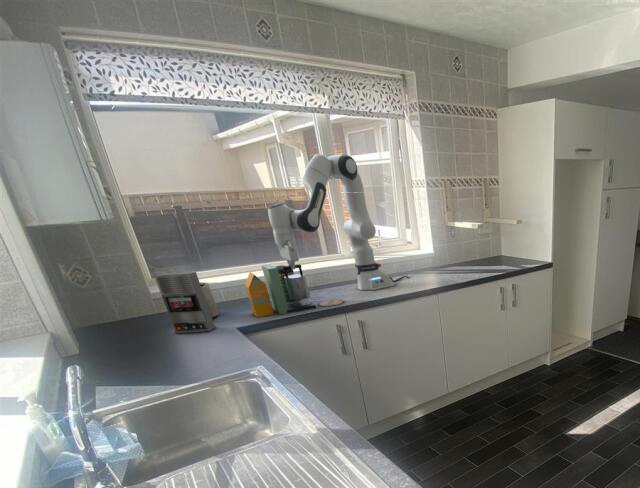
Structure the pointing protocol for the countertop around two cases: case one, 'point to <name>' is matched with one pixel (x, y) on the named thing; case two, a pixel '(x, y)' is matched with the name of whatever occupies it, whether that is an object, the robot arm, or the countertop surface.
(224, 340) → the countertop surface
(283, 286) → the coffee jar
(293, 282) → the grey box with handle
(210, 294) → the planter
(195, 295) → the cassette tape recorder
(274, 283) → the coffee maker
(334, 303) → the cork mat
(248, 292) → the orange juice
